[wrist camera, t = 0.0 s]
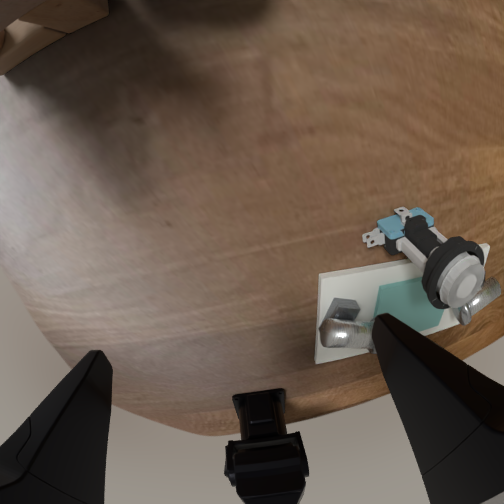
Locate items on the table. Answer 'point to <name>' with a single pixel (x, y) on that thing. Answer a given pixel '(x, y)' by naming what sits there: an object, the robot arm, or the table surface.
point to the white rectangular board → (381, 300)
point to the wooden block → (41, 25)
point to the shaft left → (346, 327)
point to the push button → (433, 256)
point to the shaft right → (478, 300)
